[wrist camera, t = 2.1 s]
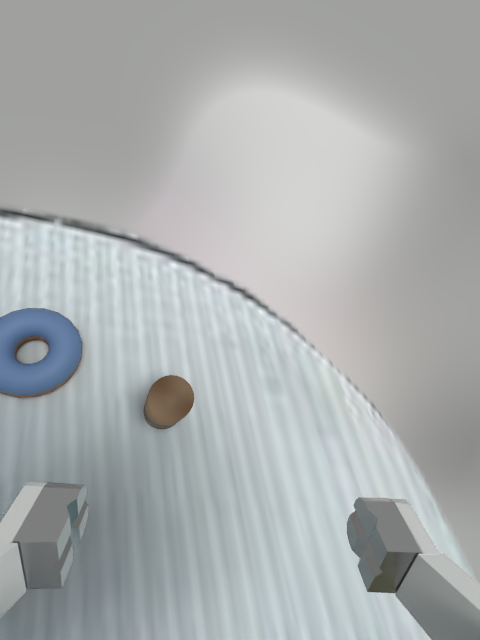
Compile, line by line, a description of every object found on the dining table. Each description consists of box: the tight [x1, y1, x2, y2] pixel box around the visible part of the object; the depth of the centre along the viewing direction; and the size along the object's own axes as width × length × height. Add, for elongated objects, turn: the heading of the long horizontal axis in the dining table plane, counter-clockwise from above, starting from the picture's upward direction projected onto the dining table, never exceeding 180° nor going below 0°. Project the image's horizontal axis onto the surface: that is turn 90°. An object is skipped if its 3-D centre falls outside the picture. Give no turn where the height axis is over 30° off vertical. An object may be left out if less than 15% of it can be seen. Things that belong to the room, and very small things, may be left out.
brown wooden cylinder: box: [144, 375, 194, 429], centre depth 35 cm, size 4×4×8 cm
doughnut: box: [0, 308, 82, 397], centre depth 35 cm, size 10×10×5 cm
